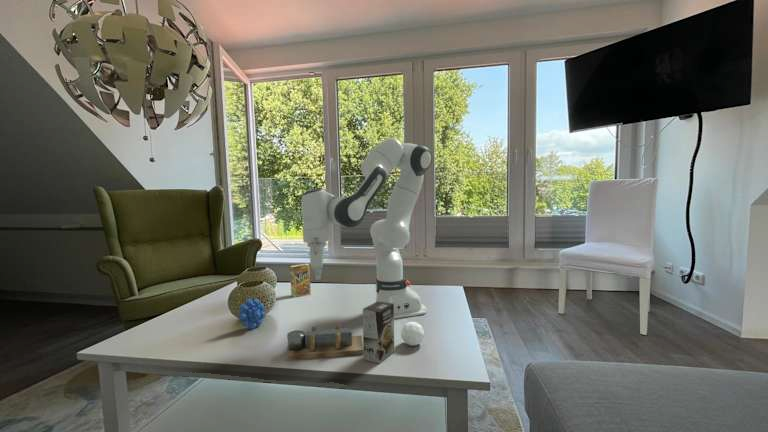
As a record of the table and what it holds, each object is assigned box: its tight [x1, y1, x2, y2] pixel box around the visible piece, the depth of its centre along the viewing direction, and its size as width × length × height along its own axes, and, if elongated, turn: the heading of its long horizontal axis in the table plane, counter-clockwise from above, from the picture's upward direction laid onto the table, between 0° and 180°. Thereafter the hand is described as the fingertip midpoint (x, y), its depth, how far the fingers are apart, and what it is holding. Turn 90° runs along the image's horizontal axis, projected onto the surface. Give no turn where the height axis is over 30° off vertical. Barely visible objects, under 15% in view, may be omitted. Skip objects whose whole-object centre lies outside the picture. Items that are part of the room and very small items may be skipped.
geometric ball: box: [400, 321, 425, 347], centre depth 119 cm, size 8×8×8 cm
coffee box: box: [362, 301, 395, 364], centre depth 112 cm, size 9×6×16 cm
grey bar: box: [287, 327, 353, 351], centre depth 117 cm, size 21×6×4 cm, turn 97°
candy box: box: [289, 263, 311, 298], centre depth 177 cm, size 9×4×15 cm, turn 126°
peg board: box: [285, 324, 363, 361], centre depth 117 cm, size 24×11×6 cm, turn 97°
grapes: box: [238, 298, 266, 330], centre depth 135 cm, size 12×7×12 cm, turn 148°
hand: (318, 275), depth 123 cm, fingers open, 8 cm apart
